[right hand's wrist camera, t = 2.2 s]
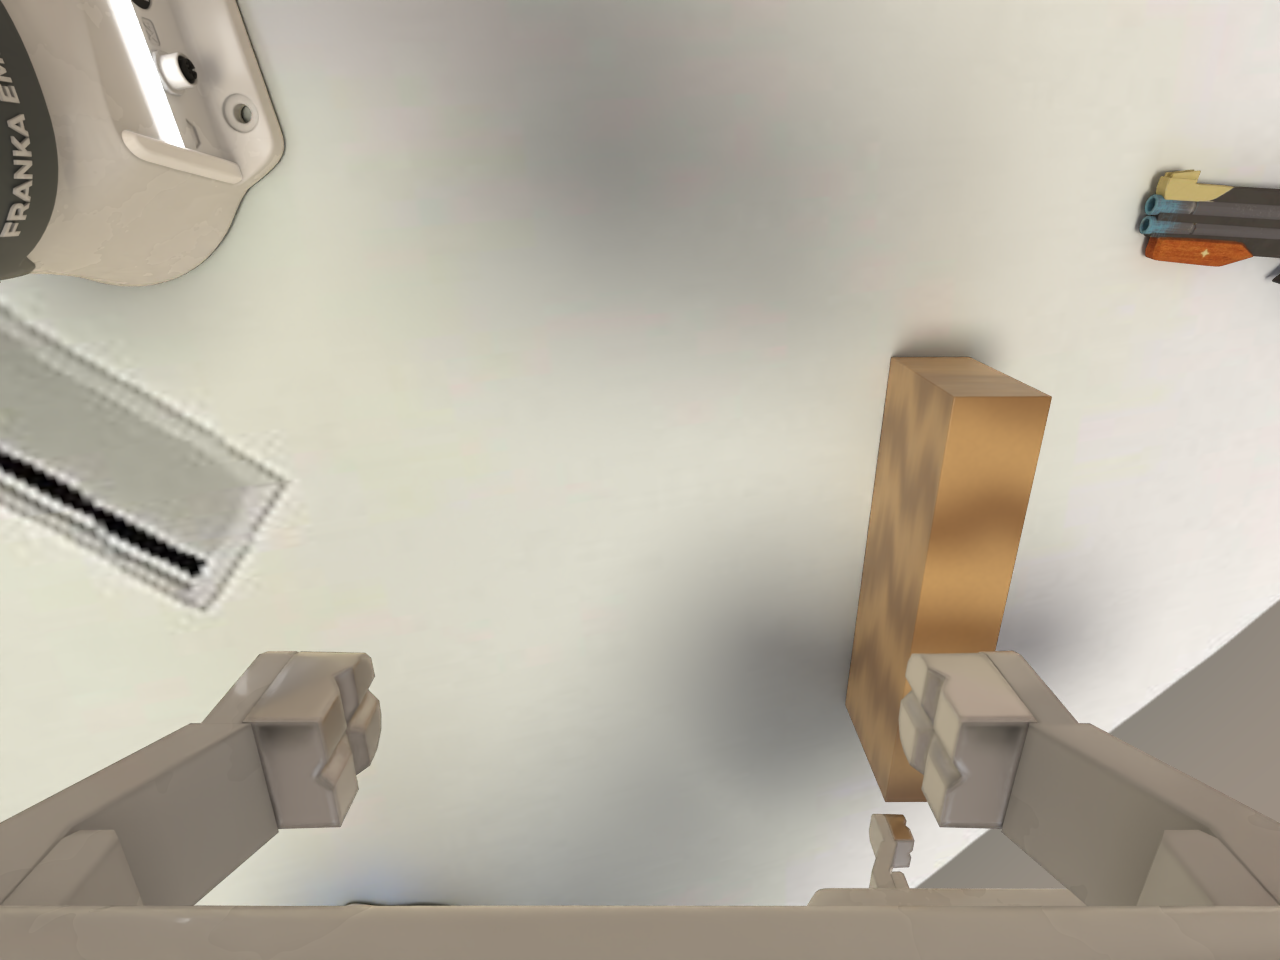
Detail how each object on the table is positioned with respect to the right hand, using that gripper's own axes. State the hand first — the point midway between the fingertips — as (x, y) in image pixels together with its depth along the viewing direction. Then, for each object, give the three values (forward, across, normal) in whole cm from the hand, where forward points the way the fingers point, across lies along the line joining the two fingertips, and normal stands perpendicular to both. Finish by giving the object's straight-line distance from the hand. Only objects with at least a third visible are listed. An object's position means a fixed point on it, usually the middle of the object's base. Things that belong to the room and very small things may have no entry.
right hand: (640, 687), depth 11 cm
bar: (+31, +17, -14) cm, 38 cm away
